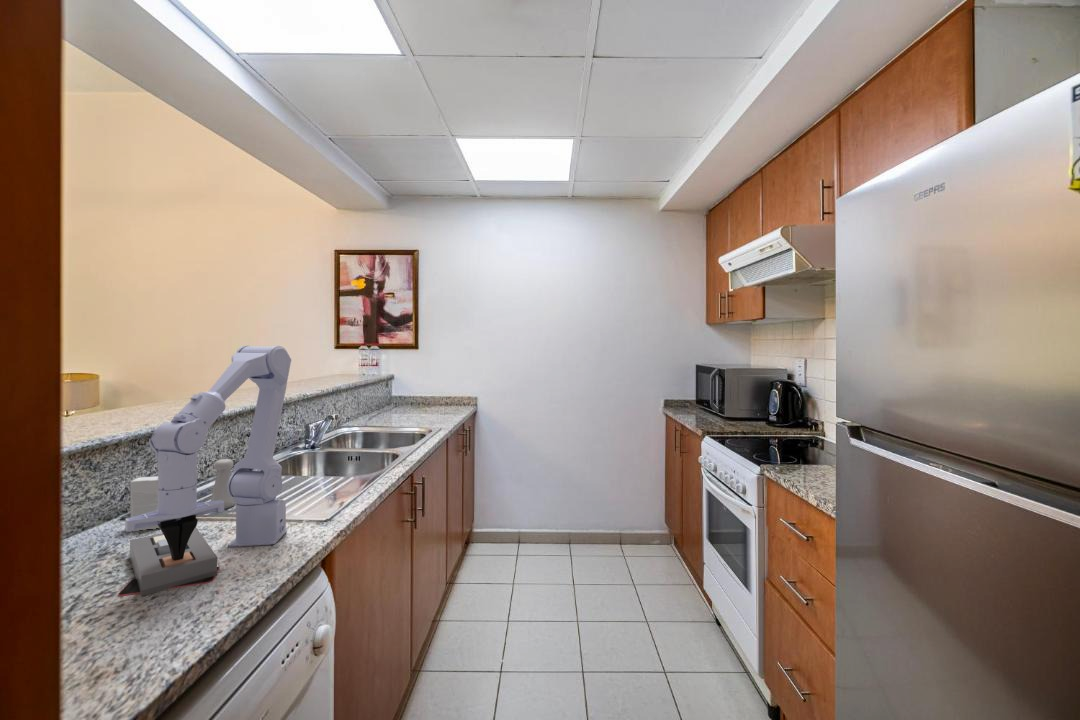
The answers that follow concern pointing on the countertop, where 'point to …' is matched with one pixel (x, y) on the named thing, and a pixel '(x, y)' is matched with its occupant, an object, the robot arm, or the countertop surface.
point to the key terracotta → (169, 561)
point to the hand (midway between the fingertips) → (177, 558)
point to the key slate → (163, 547)
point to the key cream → (155, 539)
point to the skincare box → (144, 497)
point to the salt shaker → (222, 482)
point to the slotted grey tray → (160, 578)
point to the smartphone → (134, 589)
